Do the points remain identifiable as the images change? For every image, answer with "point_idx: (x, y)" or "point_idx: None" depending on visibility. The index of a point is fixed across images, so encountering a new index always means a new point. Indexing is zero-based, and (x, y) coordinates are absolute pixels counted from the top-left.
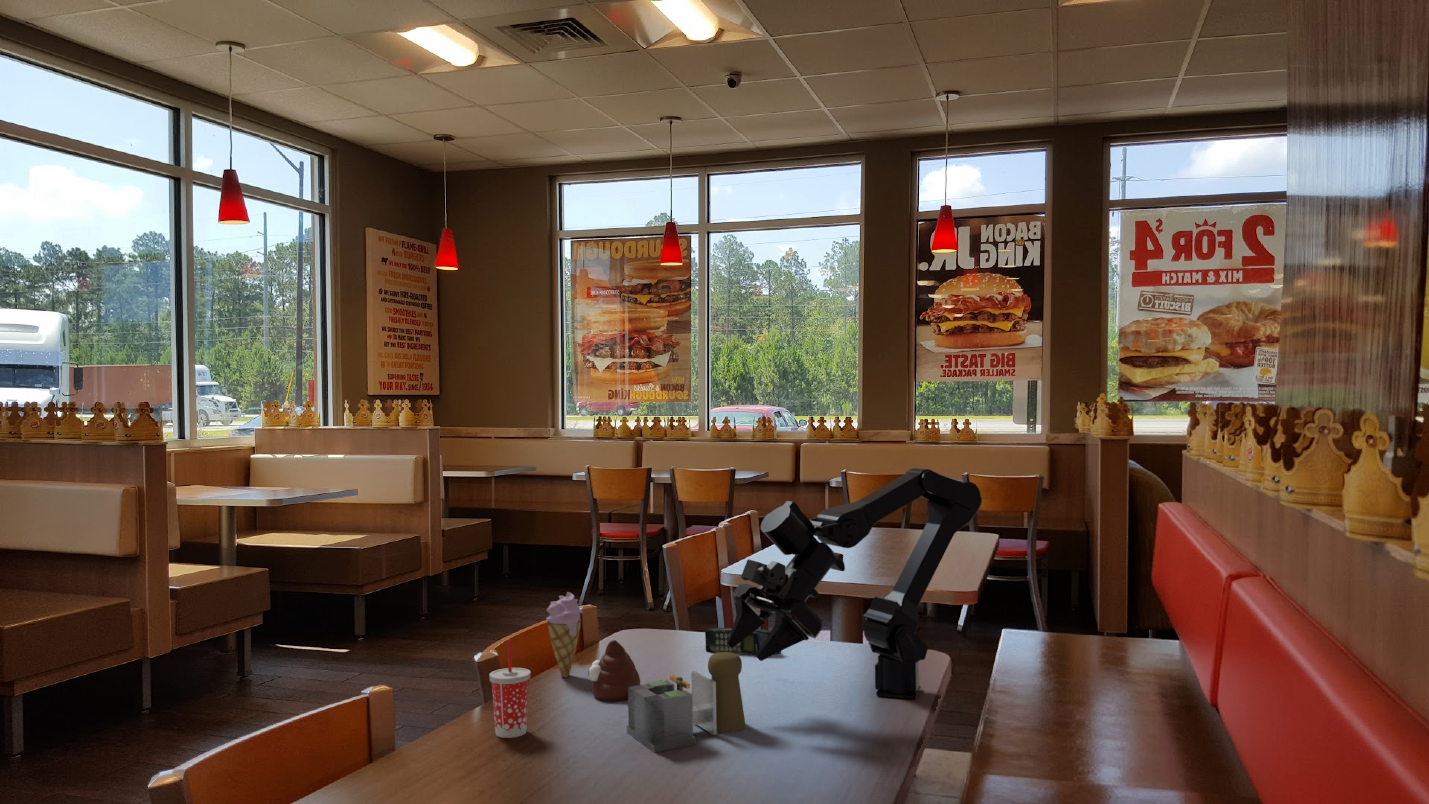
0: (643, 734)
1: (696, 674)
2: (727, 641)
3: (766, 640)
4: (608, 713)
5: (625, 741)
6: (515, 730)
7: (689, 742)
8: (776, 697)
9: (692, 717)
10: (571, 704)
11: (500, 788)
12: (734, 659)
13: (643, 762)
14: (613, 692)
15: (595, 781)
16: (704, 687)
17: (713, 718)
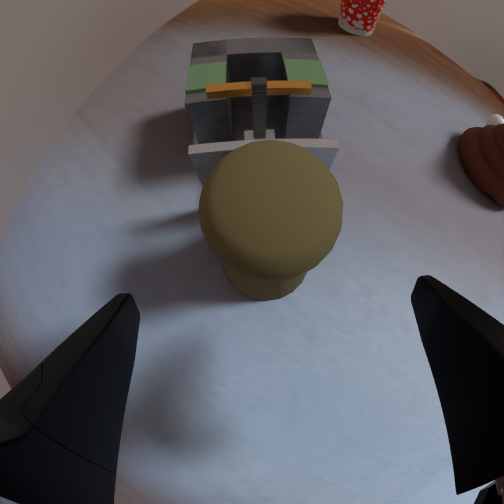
0: None
1: (303, 139)
2: (433, 278)
3: (75, 351)
4: (408, 116)
5: None
6: (340, 19)
7: None
8: (384, 431)
9: (195, 134)
10: (449, 103)
11: (198, 5)
12: (207, 215)
13: (174, 87)
14: (463, 140)
15: (158, 48)
16: None
17: None
